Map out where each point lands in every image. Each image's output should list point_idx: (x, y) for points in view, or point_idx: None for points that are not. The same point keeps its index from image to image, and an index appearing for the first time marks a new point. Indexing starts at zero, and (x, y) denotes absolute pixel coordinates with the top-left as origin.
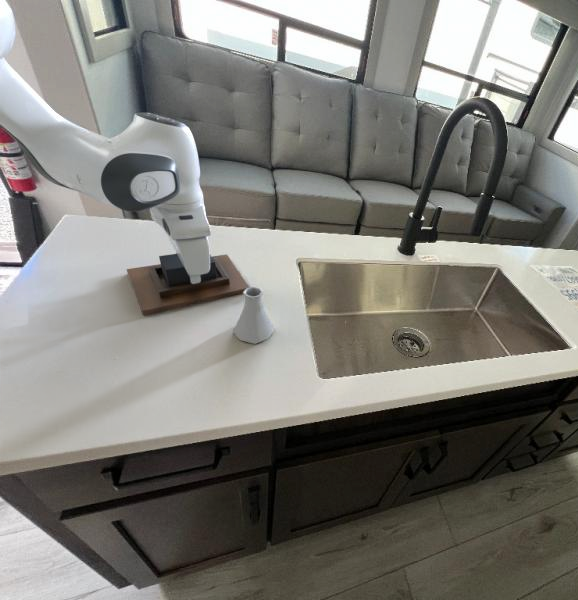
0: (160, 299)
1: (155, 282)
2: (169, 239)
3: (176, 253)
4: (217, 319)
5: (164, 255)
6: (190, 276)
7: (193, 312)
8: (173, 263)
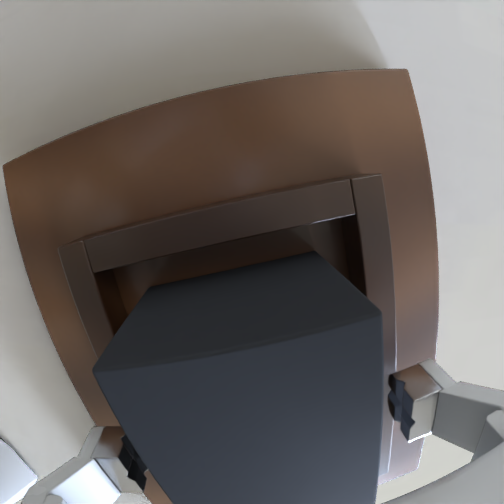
0: (65, 239)
1: (163, 223)
2: (490, 484)
3: (435, 379)
4: (14, 404)
5: (377, 358)
6: (64, 465)
7: (33, 350)
8: (206, 429)
